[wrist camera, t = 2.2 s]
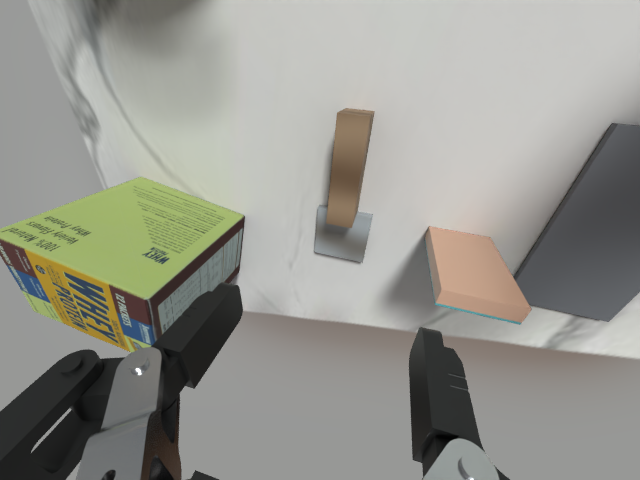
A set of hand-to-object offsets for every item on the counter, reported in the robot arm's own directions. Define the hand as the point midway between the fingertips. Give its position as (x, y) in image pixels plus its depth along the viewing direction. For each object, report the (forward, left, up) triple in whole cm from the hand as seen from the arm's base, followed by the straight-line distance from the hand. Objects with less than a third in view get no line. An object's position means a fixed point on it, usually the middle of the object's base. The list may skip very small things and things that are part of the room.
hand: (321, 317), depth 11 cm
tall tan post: (+1, -2, -19) cm, 19 cm away
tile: (+4, +10, -19) cm, 22 cm away
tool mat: (+1, +22, -18) cm, 29 cm away
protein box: (+10, -23, -19) cm, 31 cm away
